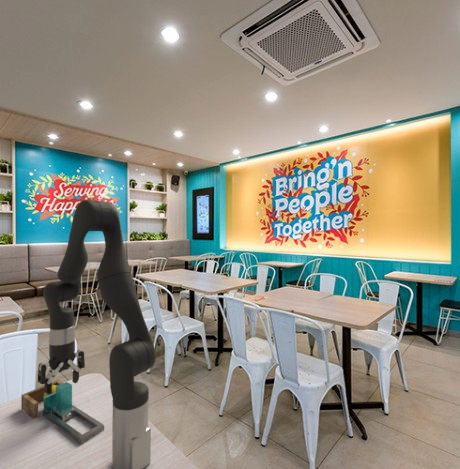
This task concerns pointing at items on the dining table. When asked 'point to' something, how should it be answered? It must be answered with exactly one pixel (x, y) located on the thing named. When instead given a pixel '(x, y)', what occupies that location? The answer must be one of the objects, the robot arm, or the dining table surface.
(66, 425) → the rails
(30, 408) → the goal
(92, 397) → the dining table surface
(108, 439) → the dining table surface
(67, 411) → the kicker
